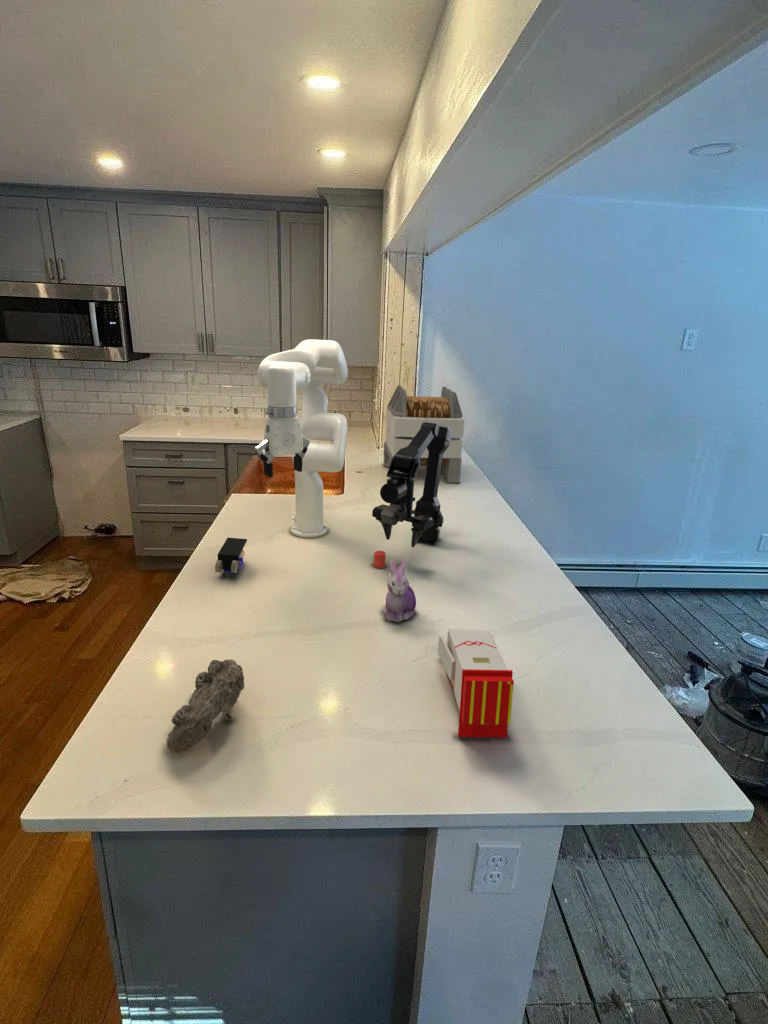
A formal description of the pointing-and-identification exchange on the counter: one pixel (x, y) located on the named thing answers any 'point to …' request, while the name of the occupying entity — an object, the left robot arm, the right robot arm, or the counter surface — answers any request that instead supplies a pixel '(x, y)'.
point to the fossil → (206, 705)
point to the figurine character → (230, 556)
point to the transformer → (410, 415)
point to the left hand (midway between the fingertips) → (283, 473)
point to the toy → (478, 682)
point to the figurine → (399, 594)
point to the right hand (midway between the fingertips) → (400, 543)
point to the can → (379, 559)
